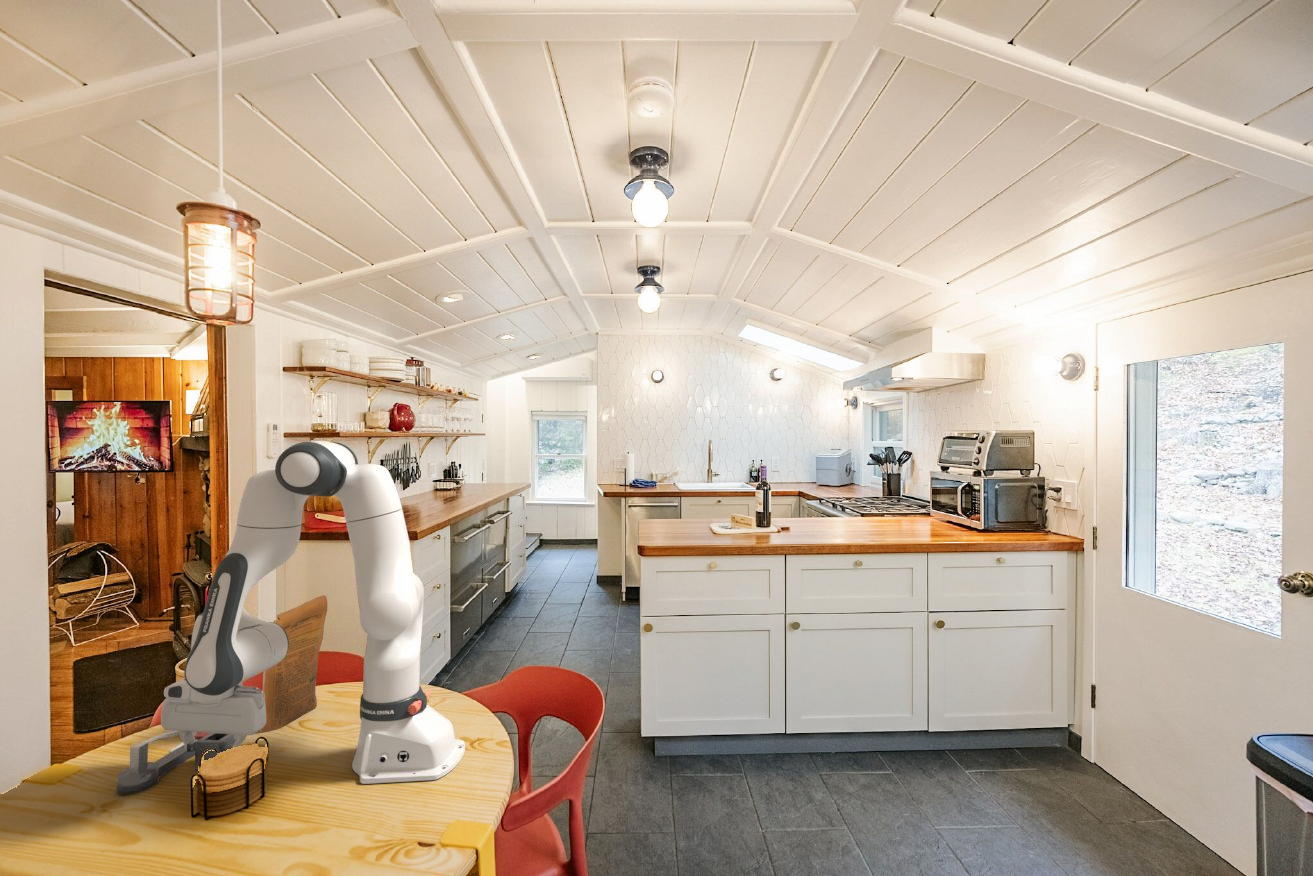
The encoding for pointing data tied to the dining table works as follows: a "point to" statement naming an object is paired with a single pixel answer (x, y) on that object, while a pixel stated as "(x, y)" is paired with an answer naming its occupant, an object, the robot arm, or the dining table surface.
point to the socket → (212, 746)
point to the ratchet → (149, 768)
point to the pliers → (168, 735)
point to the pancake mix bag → (295, 665)
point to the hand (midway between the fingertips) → (213, 752)
